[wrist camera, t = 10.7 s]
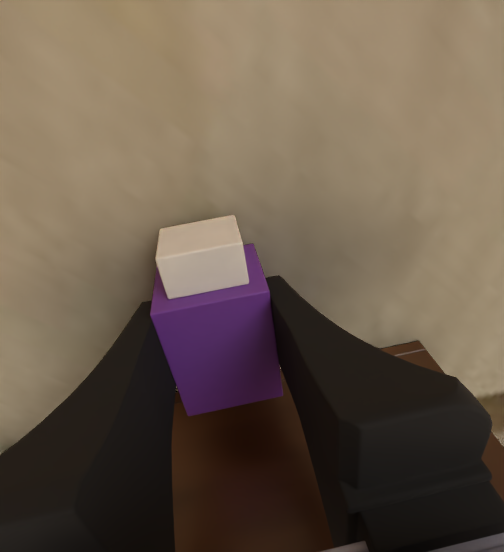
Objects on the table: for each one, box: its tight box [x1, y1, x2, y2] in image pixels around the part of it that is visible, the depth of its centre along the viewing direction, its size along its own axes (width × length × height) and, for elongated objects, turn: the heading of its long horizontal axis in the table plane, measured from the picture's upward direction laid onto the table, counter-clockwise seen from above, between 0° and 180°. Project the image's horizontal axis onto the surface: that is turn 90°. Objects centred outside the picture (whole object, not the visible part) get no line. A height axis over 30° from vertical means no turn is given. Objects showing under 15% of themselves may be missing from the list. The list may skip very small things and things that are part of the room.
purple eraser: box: [150, 215, 283, 416], centre depth 12 cm, size 6×3×3 cm, turn 8°
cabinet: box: [172, 341, 504, 552], centre depth 16 cm, size 13×11×8 cm
